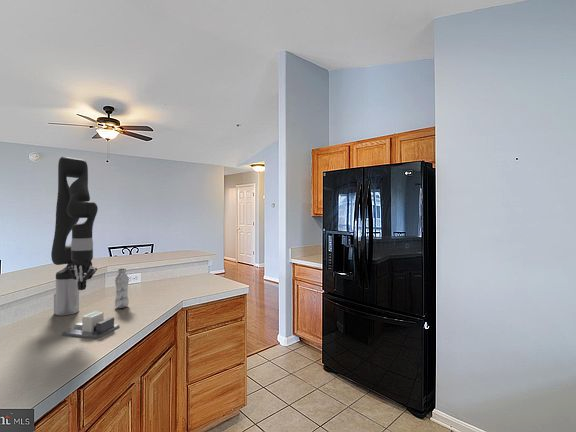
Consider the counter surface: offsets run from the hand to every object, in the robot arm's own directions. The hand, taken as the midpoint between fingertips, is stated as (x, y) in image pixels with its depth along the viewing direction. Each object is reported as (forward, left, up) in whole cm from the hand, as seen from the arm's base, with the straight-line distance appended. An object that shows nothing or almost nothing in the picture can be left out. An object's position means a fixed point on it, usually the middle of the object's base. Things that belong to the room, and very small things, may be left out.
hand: (81, 289), depth 122 cm
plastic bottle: (-4, +28, -17) cm, 33 cm away
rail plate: (+5, 0, -17) cm, 18 cm away
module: (+6, 0, -16) cm, 17 cm away
